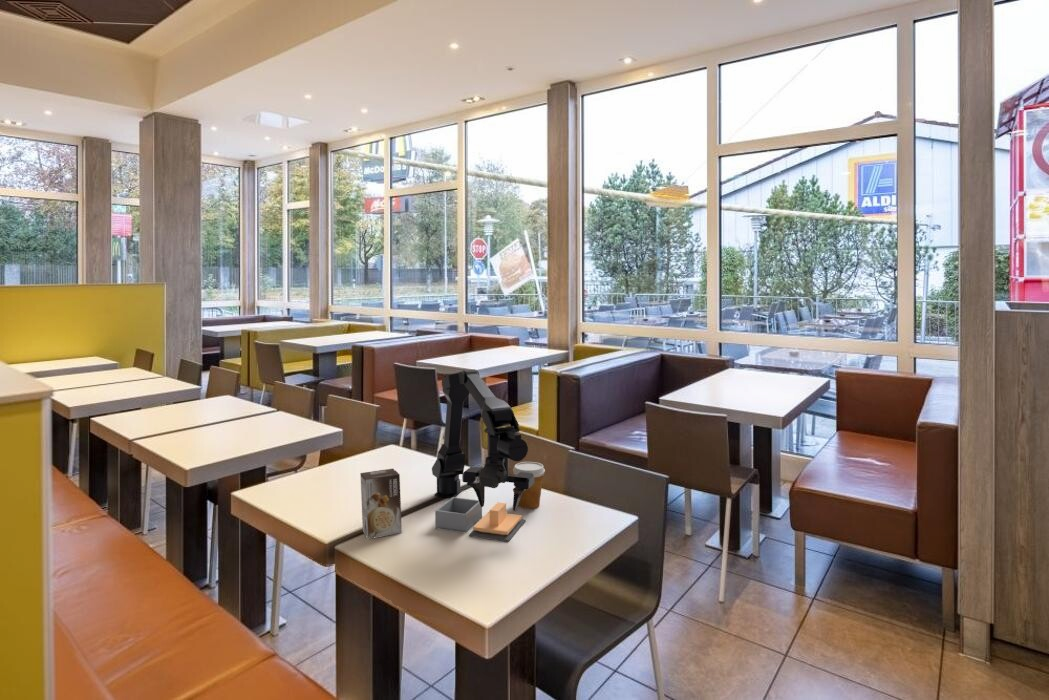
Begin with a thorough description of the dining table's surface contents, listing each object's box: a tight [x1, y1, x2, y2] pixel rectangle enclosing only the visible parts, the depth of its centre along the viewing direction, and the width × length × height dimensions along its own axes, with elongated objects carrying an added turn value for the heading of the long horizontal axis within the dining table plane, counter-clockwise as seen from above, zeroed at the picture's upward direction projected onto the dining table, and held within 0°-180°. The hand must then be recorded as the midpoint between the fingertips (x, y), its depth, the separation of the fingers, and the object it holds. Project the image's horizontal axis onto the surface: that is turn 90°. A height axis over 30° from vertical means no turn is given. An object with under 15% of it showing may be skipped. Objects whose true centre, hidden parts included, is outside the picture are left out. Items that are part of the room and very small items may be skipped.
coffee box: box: [360, 468, 403, 539], centre depth 157 cm, size 9×6×16 cm
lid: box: [472, 501, 523, 535], centre depth 160 cm, size 10×12×6 cm
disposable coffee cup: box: [512, 461, 546, 510], centre depth 176 cm, size 10×10×12 cm
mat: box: [468, 518, 527, 543], centre depth 160 cm, size 11×14×1 cm
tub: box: [434, 496, 483, 534], centre depth 163 cm, size 9×11×5 cm
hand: (498, 508), depth 159 cm, fingers open, 9 cm apart
